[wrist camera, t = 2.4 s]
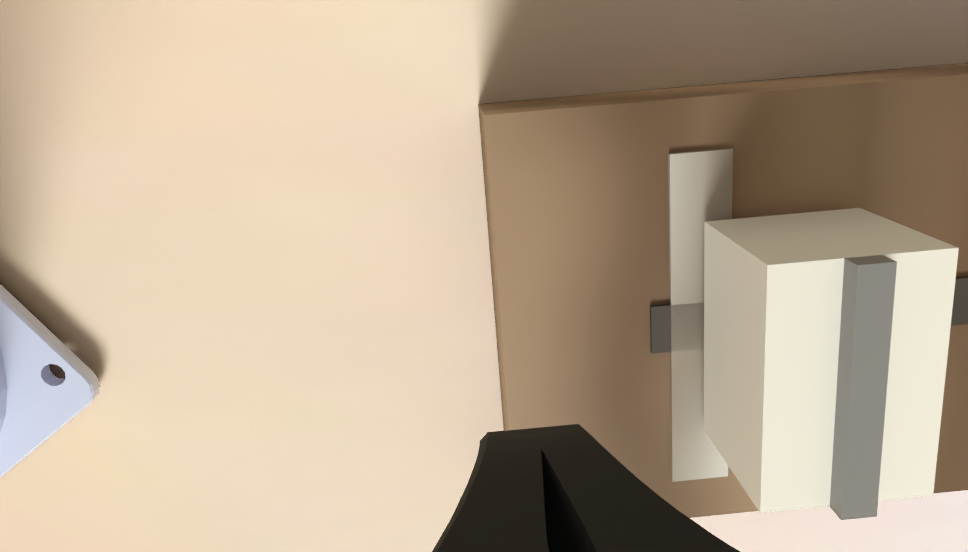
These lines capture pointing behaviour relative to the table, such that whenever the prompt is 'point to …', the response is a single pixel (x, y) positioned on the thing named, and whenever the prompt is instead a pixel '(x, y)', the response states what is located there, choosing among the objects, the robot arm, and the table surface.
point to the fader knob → (826, 357)
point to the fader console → (695, 243)
